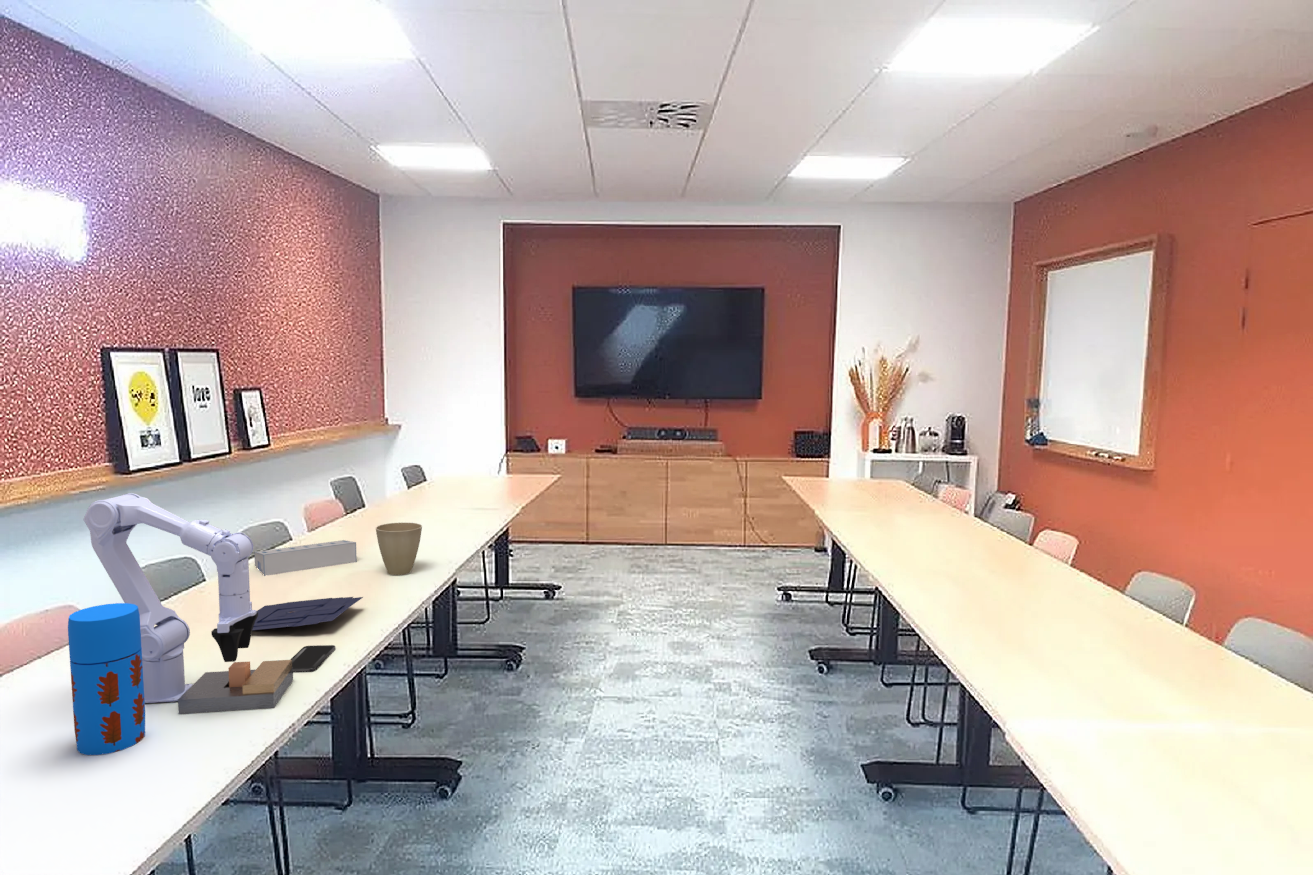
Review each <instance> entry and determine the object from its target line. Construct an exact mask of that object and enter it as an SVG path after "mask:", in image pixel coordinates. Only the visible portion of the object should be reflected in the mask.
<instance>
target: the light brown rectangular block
mask: <svg viewBox="0 0 1313 875" xmlns="http://www.w3.org/2000/svg"><path fill="white" fill-rule="evenodd" d="M250 670H251V661H235V662H232V664H231V665H230V666H229V667H228V671H229V687H242V685H243V684H244V683H245V682H246V681H247V680H248V678H249V677H250V676H251V671H250Z"/></svg>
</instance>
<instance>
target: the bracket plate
mask: <svg viewBox="0 0 1313 875" xmlns="http://www.w3.org/2000/svg"><path fill="white" fill-rule="evenodd" d="M250 671H251V676H250V677H249V678H248V680H247V681H246V682H245V683H244V684H243V685H242V687H229V670H225V671H224V670H223V671H209V672H208V671H207V672H204V673H203V674H202V675H201V676H200V677H199V678H198V679H197V681H195V682H194V683H192V684H193V685H192V686H191V687H190V688H189V689H188V690H187V691H186V692H185V693H184V694H183V695H182V696H181V697H180V698H179V699H178V701H177V705H178V708H177V709H178V711H177V712H178V715H186V714H188V715H189V714H201V713H202V714H203V713H217V712H231V711H232V712H233V711H245V710H247V711H248V710H260V709H261V710H263V709H274V708H275V707H276V706H277V705H278V703H279V701H280V700H281V698H282V697H283V695H284V694H285V693H286V691H287V690H288V689H289V687H290V686H291V684H292V683H293V682H294V673H293V667H292V660H290V659H281V660H279V659H277V660H264V661H262V662H261V663H260V664H259V665H258V667H256V668H255V669H250Z"/></svg>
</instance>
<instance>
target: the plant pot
mask: <svg viewBox="0 0 1313 875" xmlns="http://www.w3.org/2000/svg"><path fill="white" fill-rule="evenodd" d="M422 528H423V525H422V524H420V523H417V522H391V523H384V524H380V525H377V526H376V527H375V532H376V534H375V535H376V538H377V544H378V547H379V552H380V554H381V559H382V561H383V564H384V566H385V570H386V572H387V574H388V575H390V576H405V575H410V574H411V572H412V569H413V567H414V565H415V561H416V558H417V554H418V552H419V547H420V542H421V538H422V537H421V536H422Z"/></svg>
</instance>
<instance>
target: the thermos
mask: <svg viewBox="0 0 1313 875" xmlns="http://www.w3.org/2000/svg"><path fill="white" fill-rule="evenodd" d="M67 636H68V651H69V667H70V668H69V669H70V678H71V680H70V681H71V694H72V697H71V698H72V699H71V700H72V711H73V726H74V738H75V743H76V744H75V745H76V750H77V752H78V753H79V754H81V755H85V756H101V755H107V754H111V753H116V752H120V751H123V750H125V749H128V748H130V747H132V746H134V745H136V744H138V743H139V742H141V741H142V740H143V739H144V738H145V736H146V705H145V704H146V703H145V700H144V682H143V664H142V647H141V629H140V614H139V609H138V606H137V605H135V604H129V603H124V602H121V603H120V602H118V603H117V602H116V603H106V604H100V605H99V604H98V605H95V606H90V607H86V608H83V609H79V610H77V611H74V612H73V613H71V614H69V616H68V621H67Z"/></svg>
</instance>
